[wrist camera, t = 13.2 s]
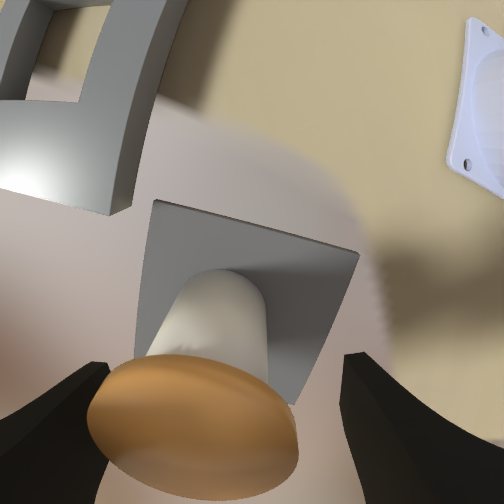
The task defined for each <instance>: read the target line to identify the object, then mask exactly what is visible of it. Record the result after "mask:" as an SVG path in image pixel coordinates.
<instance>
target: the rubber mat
mask: <svg viewBox="0 0 504 504" xmlns="http://www.w3.org/2000/svg"><path fill="white" fill-rule="evenodd" d="M359 256H360V255H359V254H358V253H357V252H355V251H352V250H348V249H345V248H341V247H338V246H334V245H330V244H327V243H323V242H320V241H316V240H313V239H309V238H305V237H302V236H298V235H295V234H291V233H287V232H283V231H280V230H276V229H272V228H269V227H265V226H261V225H257V224H254V223H250V222H246V221H242V220H238V219H234V218H231V217H227V216H222V215H219V214H215V213H211V212H207V211H203V210H199V209H195V208H191V207H187V206H183V205H179V204H175V203H171V202H167V201H162V200H158V199H156V200H154V202H153V207H152V212H151V218H150V223H149V230H148V235H147V242H146V248H145V255H144V262H143V269H142V277H141V285H140V294H139V303H138V313H137V323H136V334H135V348H134V359H135V358H140V357H144V356H146V354H147V352H148V350H149V348H150V346H151V345H152V343H153V341H154V339H155V337H156V335H157V333H158V331H159V329H160V327H161V326H162V324H163V322H164V320H165V318H166V316H167V314H168V312H169V311H170V309H171V307H172V305H173V303H174V301H175V299H176V298H177V296H178V294H179V292H180V290H181V289H182V287H183V286H184V284H185V283H186V282H187V281H188V280H189V279H190V278H192V277H193V276H195V275H197V274H199V273H201V272H204V271H208V270H215V269H221V270H229V271H233V272H236V273H238V274H240V275H243V276H244V277H246V278H247V279H249V280H250V281H251V282H252V283H253V284H254V285H255V286H256V287H257V288H258V289H259V291H260V292H261V294H262V296H263V299H264V301H265V306H266V326H267V354H268V385H269V386H270V387H271V388H272V389H273V390H275V391H276V392H277V393H278V394H279V395H280V396H281V397H282V398H283V399H284V400H285V402H286V403H287V404H292V405H294V404H295V402H296V401H297V399H298V397H299V395H300V393H301V391H302V389H303V387H304V385H305V383H306V381H307V378H308V377H309V375H310V373H311V371H312V368H313V366H314V364H315V362H316V360H317V358H318V356H319V353H320V351H321V349H322V347H323V345H324V343H325V340H326V338H327V336H328V333H329V331H330V329H331V327H332V324H333V322H334V320H335V317H336V315H337V312H338V310H339V308H340V305H341V303H342V301H343V298H344V295H345V293H346V290H347V288H348V286H349V283H350V280H351V278H352V275H353V273H354V270H355V267H356V265H357V262H358V259H359Z"/></svg>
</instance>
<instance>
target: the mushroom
mask: <svg viewBox="0 0 504 504" xmlns="http://www.w3.org/2000/svg"><path fill="white" fill-rule="evenodd" d="M87 425H88V428H89V432H90V434H91V436H92V438H93V440H94V442H95V444H96V445H97V447H98V448H99V449H100V451H101V452H102V453H103V454H104V455H105V456H106V457H107V458H108V459H109V460H110V461H111V462H112V463H113V464H114V465H115V466H117V467H118V468H119V469H120V470H122V471H123V472H125V473H126V474H128V475H129V476H131V477H133V478H134V479H136V480H138V481H140V482H142V483H144V484H146V485H148V486H150V487H153V488H155V489H158V490H160V491H163V492H166V493H170V494H173V495H177V496H181V497H186V498H192V499H198V500H212V501H225V500H237V499H243V498H248V497H252V496H256V495H259V494H262V493H265V492H267V491H269V490H271V489H274V488H275V487H277V486H278V485H280V484H281V483H283V482H284V481H285V480H286V479H288V477H289V476H290V475H291V474H292V473H293V471H294V469H295V468H296V465H297V462H298V455H299V451H298V442H297V433H296V424H295V420H294V416H293V414H292V412H291V410H290V408H289V406H288V405H287V403H286V402H285V400H284V399H283V398H282V397H281V396H280V395H279V394H278V393H277V392H276V391H275V390H273V389H272V388H271V387H270V386H269V385H268V354H267V326H266V306H265V301H264V299H263V296H262V294H261V292H260V291H259V289H258V288H257V287H256V286H255V285H254V284H253V283H252V282H251V281H250V280H249V279H247V278H246V277H244V276H243V275H240V274H238V273H236V272H233V271H229V270H221V269H215V270H208V271H204V272H201V273H199V274H197V275H195V276H193V277H192V278H190V279H189V280H188V281H187V282H186V283H185V284H184V286H183V287H182V289H181V290H180V292H179V294H178V296H177V298H176V299H175V301H174V303H173V305H172V307H171V309H170V311H169V312H168V314H167V316H166V318H165V320H164V322H163V324H162V326H161V327H160V329H159V331H158V333H157V335H156V337H155V339H154V341H153V343H152V345H151V346H150V348H149V350H148V352H147V354H146V356H144V357H140V358H135V359H133V360H130V361H128V362H125V363H123V364H121V365H120V366H118V367H116V368H115V369H114V370H113V371H111V372H110V373H109V374H108V376H107V377H106V378H105V380H104V381H103V383H102V385H101V386H100V388H99V390H98V391H97V393H96V395H95V396H94V398H93V400H92V401H91V403H90V406H89V408H88V412H87Z"/></svg>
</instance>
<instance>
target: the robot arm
mask: <svg viewBox="0 0 504 504" xmlns="http://www.w3.org/2000/svg"><path fill="white" fill-rule="evenodd" d="M482 31H483V32H484V33H483V32H482ZM484 34H485V35H484ZM465 160H466V162H467V168H466V169H464V166H463V165H464V161H465ZM446 162H447V165H448V167H449V169H451V170H452V171H453V172H455V173H457V174H459V175H461V176H463V177H465V178H466V179H468V180H470V181H472V182H474V183H475V184H477V185H479V186H481V187H482V188H484V189H486V190H487V191H489V192H491V193H492V194H494V195H496V196H497V197H499V198H501V199H502V200H504V39H503V38H502V37H501V36H500V35H498V34H497V33H496V32H495V31H493V30H492V29H491V28H489V27H488V26H487V25H485V24H484V23H483V22H481V21H480V20H479V19H477V18H475V17H471V18H469V19H467V20H466V31H465V46H464V57H463V66H462V75H461V82H460V89H459V96H458V102H457V108H456V113H455V119H454V124H453V129H452V133H451V138H450V142H449V147H448V151H447V155H446ZM110 372H111V371H110V369H109V366H108V364H107V363H105V362H90V363H88V364H86V365H85V366H83V367H82V368H80V369H79V370H77V371H76V372H74V373H73V374H71V375H70V376H68V377H67V378H65V379H64V380H63V381H61V382H60V383H58V384H57V385H56V386H54V387H53V388H51V389H50V390H48V391H47V392H46V393H44V394H43V395H41V396H40V397H38V398H37V399H35V400H34V401H32V402H30V403H29V404H27V405H26V406H24V407H23V408H21V409H20V410H18V411H16V412H14V413H13V414H11V415H9V416H7V417H5V418H3V419H1V420H0V504H94V502H95V498H96V494H97V491H98V488H99V485H100V482H101V480H102V477H103V475H104V472H105V470H106V467H107V464H108V462H109V459H108V458H107V457H106V456H105V455H104V454H103V453H102V452H101V451H100V449H99V448H98V447H97V445H96V444H95V442H94V440H93V438H92V436H91V434H90V432H89V428H88V425H87V412H88V408H89V406H90V403H91V401H92V400H93V398H94V396H95V395H96V393H97V391H98V390H99V388H100V386H101V385H102V383H103V381H104V380H105V378H106V377H107V376H108V374H109V373H110ZM339 405H340V411H341V416H342V421H343V427H344V431H345V435H346V438H347V441H348V445H349V448H350V451H351V454H352V457H353V460H354V463H355V466H356V470H357V473H358V476H359V479H360V482H361V485H362V489H363V493H364V496H365V501H366V504H504V449H503V448H501V447H498V446H496V445H494V444H491V443H489V442H487V441H485V440H482V439H480V438H478V437H476V436H474V435H472V434H470V433H468V432H467V431H465V430H463V429H461V428H460V427H458V426H456V425H455V424H453V423H451V422H450V421H448V420H446V419H445V418H443V417H442V416H440V415H439V414H437V413H436V412H435V411H433V410H432V409H431V408H429V407H428V406H426V405H425V404H424V403H422V402H421V401H420V400H418V399H417V398H416V397H415V396H414V395H412V394H411V393H410V392H409V391H408V390H406V389H405V388H404V387H403V386H402V385H400V384H399V383H398V382H397V381H396V380H395V379H394V378H392V377H391V376H390V375H389V374H388V373H387V372H386V371H385V370H384V369H383V368H382V367H380V366H379V365H378V364H377V363H376V362H375V361H374V360H373V359H372V358H371V357H370V356H368V355H367V354H366V353H365V352H360V353H354V354H346V355H344V364H343V374H342V384H341V393H340V402H339Z"/></svg>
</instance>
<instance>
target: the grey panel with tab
mask: <svg viewBox="0 0 504 504" xmlns="http://www.w3.org/2000/svg"><path fill="white" fill-rule="evenodd" d="M188 1H189V0H6V1H5V4H4V6H3V8H2V10H1V13H0V188H3V189H7V190H10V191H14V192H18V193H22V194H26V195H29V196H34V197H37V198H41V199H45V200H49V201H52V202H56V203H60V204H64V205H68V206H72V207H75V208H79V209H83V210H87V211H91V212H95V213H98V214H102V215H106V216H111V215H113V214H115V213H117V212H119V211H122V210H124V209H126V208H128V207H130V206H131V205H132V200H133V194H134V188H135V183H136V178H137V173H138V168H139V163H140V158H141V154H142V149H143V145H144V140H145V136H146V132H147V128H148V124H149V120H150V116H151V112H152V108H153V105H154V101H155V97H156V94H157V90H158V87H159V84H160V80H161V77H162V74H163V70H164V67H165V64H166V61H167V58H168V55H169V52H170V49H171V46H172V43H173V40H174V37H175V35H176V32H177V29H178V26H179V24H180V21H181V19H182V16H183V13H184V11H185V8H186V6H187V3H188ZM101 5H111V7H110V10H109V12H108V14H107V17H106V19H105V22H104V24H103V27H102V29H101V32H100V35H99V37H98V40H97V43H96V46H95V49H94V52H93V55H92V58H91V61H90V64H89V67H88V70H87V73H86V77H85V80H84V84H83V87H82V91H81V95H80V99H79V103H72V102H56V101H32V100H25V98H26V94H27V89H28V86H29V82H30V78H31V75H32V71H33V68H34V65H35V61H36V58H37V55H38V52H39V49H40V46H41V43H42V41H43V38H44V35H45V32H46V30H47V27H48V25H49V22H50V20H51V17H52V15H53V13H54V11H56V10H63V9H70V8H79V7H89V6H101Z"/></svg>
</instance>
